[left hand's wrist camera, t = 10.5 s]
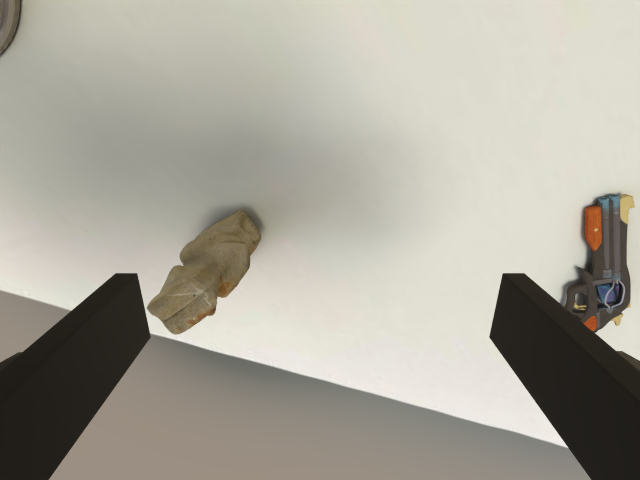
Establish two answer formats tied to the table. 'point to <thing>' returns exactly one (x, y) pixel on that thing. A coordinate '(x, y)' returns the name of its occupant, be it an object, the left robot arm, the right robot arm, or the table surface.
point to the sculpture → (206, 272)
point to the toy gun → (604, 264)
